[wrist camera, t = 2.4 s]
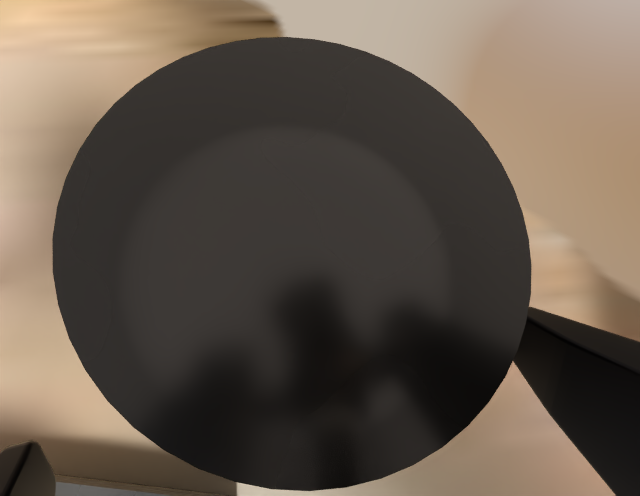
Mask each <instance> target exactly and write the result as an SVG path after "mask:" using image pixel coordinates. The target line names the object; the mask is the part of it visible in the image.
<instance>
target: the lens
mask: <svg viewBox="0 0 640 496" xmlns="http://www.w3.org/2000/svg"><path fill="white" fill-rule="evenodd" d="M53 275H54V281H55V287H56V294H57V300H58V305H59V308H60V312H61V315H62V318H63V321H64V324H65V327H66V330H67V333H68V336H69V339H70V341H71V343H72V345H73V347H74V349H75V351H76V353H77V354H78V356H79V358H80V360H81V362H82V364H83V366H84V368H85V370H86V372H87V373H88V374H89V376H90V377H91V379H92V380H93V381H94V383H95V384H96V386H97V387H98V388H99V390H100V391H101V393H102V394H103V395H104V397H105V398H106V399H107V401H108V402H109V403H110V404H111V405H112V406H113V407H114V408H115V409H116V410H117V411H118V412H119V413H120V414H121V415H122V416H123V417H124V418H125V419H126V420H127V421H128V422H129V423H130V424H131V425H132V426H133V427H134V428H135V429H137V430H138V431H139V432H141V433H142V434H143V435H145V436H146V437H147V438H149V439H150V440H151V441H153V442H154V443H155V444H156V445H158V446H159V447H160V448H162V449H163V450H165V451H166V452H168V453H170V454H172V455H174V456H176V457H178V458H179V459H181V460H183V461H185V462H187V463H189V464H191V465H192V466H194V467H196V468H198V469H201V470H204V471H206V472H209V473H212V474H215V475H217V476H220V477H223V478H226V479H229V480H231V481H234V482H239V483H244V484H249V485H254V486H259V487H264V488H269V489H280V490H301V491H314V490H324V489H334V488H344V487H349V486H353V485H357V484H361V483H365V482H369V481H373V480H377V479H381V478H383V477H386V476H388V475H390V474H393V473H395V472H398V471H400V470H402V469H405V468H407V467H410V466H412V465H414V464H416V463H417V462H419V461H421V460H422V459H424V458H425V457H427V456H429V455H430V454H432V453H434V452H435V451H437V450H439V449H440V448H442V447H443V446H444V445H446V444H447V443H448V442H449V441H450V440H452V439H453V438H454V437H455V436H456V435H458V434H459V433H460V432H461V431H462V430H463V429H465V428H466V427H467V426H468V425H469V424H470V423H471V422H472V420H473V419H474V418H475V417H476V416H477V415H478V414H479V413H480V411H481V410H482V409H483V408H484V407H485V406H486V405H487V404H488V402H489V401H490V399H491V398H492V396H493V395H494V393H495V392H496V390H497V389H498V387H499V386H500V384H501V383H502V381H503V379H504V378H505V376H506V374H507V372H508V370H509V368H510V365H511V363H512V361H513V359H514V357H515V355H516V353H517V350H518V347H519V344H520V341H521V337H522V334H523V331H524V328H525V324H526V320H527V314H528V307H529V301H530V295H531V258H530V248H529V239H528V235H527V230H526V226H525V222H524V217H523V213H522V210H521V207H520V204H519V202H518V199H517V196H516V193H515V191H514V188H513V186H512V184H511V182H510V180H509V178H508V176H507V174H506V172H505V170H504V168H503V166H502V164H501V162H500V161H499V159H498V157H497V156H496V154H495V153H494V151H493V150H492V148H491V147H490V145H489V143H488V142H487V141H486V140H485V138H484V137H483V136H482V135H481V133H480V132H479V131H478V130H477V128H476V127H475V126H474V125H473V123H472V122H471V121H470V120H469V119H468V118H467V117H466V116H465V115H464V114H463V113H462V112H461V111H460V110H459V109H458V108H457V107H456V106H455V105H454V104H453V103H452V102H451V101H449V100H448V99H447V98H446V97H444V96H443V95H442V94H441V93H440V92H438V91H437V90H436V89H434V88H433V87H432V86H430V85H429V84H427V83H426V82H424V81H423V80H421V79H420V78H418V77H417V76H415V75H414V74H412V73H411V72H409V71H406V70H405V69H403V68H401V67H399V66H397V65H395V64H393V63H391V62H390V61H387V60H385V59H382V58H380V57H377V56H375V55H372V54H370V53H367V52H365V51H361V50H358V49H355V48H351V47H348V46H344V45H341V44H336V43H331V42H326V41H320V40H315V39H303V38H291V37H277V38H257V39H249V40H241V41H234V42H230V43H226V44H222V45H218V46H214V47H210V48H207V49H204V50H201V51H199V52H196V53H193V54H190V55H188V56H185V57H183V58H181V59H179V60H177V61H175V62H173V63H171V64H169V65H167V66H165V67H163V68H161V69H159V70H157V71H156V72H154V73H153V74H151V75H150V76H149V77H147V78H146V79H144V80H143V81H141V82H140V83H138V84H137V85H135V86H134V87H133V88H132V89H131V90H130V91H128V92H127V93H126V94H125V95H124V96H123V97H122V98H120V99H119V100H118V101H117V102H116V103H115V104H114V105H113V106H112V107H111V108H110V109H109V110H108V112H107V113H106V114H105V115H104V116H103V117H102V118H101V120H100V121H99V122H98V123H97V124H96V125H95V127H94V128H93V130H92V131H91V133H90V134H89V136H88V137H87V139H86V140H85V142H84V143H83V145H82V146H81V148H80V150H79V151H78V154H77V156H76V158H75V160H74V162H73V164H72V166H71V168H70V171H69V173H68V175H67V177H66V180H65V183H64V186H63V190H62V193H61V196H60V200H59V203H58V206H57V212H56V219H55V226H54V233H53Z"/></svg>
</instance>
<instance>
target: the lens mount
mask: <svg viewBox="0 0 640 496" xmlns="http://www.w3.org/2000/svg"><path fill="white" fill-rule="evenodd" d="M55 479H56V492H55V496H229V495H221V494H213V493H205V492H196V491H188V490H180V489H171V488H163V487H155V486H147V485H138V484H130V483H122V482H113V481H105V480H97V479H89V478H80V477H72V476H64V475H55Z"/></svg>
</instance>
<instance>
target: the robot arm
mask: <svg viewBox="0 0 640 496" xmlns="http://www.w3.org/2000/svg"><path fill="white" fill-rule="evenodd" d="M513 361H514V363H515V364H516V366H517V367H518V369H519V370H520V372H521V373H522V375H523V376H524V378H525V379H526V381H527V382H528V384H529V385H530V387H531V388H532V389H533V391H534V392H535V394H536V395H537V397H538V398H539V400H540V401H541V403H542V404H543V406H544V407H545V408H546V410H547V411H548V413H549V414H550V415H551V417H552V418H553V419H554V420H555V422H556V423H557V424H558V425H559V427H560V428H561V429H562V430H563V432H564V433H565V434H566V435H567V436H568V438H569V439H570V440H571V441H572V443H573V444H574V445H575V446H576V447H577V449H578V450H579V451H580V452H581V453H582V455H583V456H584V457H585V458H586V460H587V461H588V462H589V463H590V464H591V466H592V467H593V468H594V469H595V470H596V472H597V473H598V474H599V475H600V477H601V478H602V479H603V480H604V481H605V483H606V484H607V485H608V486H609V488H610V489H611V490H612V491H613V492H614V494H615V495H616V496H640V342H638V341H635V340H632V339H629V338H626V337H623V336H619V335H616V334H613V333H610V332H607V331H604V330H601V329H598V328H595V327H592V326H588V325H585V324H582V323H579V322H576V321H573V320H570V319H567V318H564V317H561V316H558V315H554V314H551V313H548V312H545V311H542V310H539V309H536V308H533V307H528V314H527V320H526V324H525V328H524V331H523V334H522V337H521V341H520V344H519V347H518V350H517V353H516V355H515V357H514V359H513ZM55 492H56V479H55V474H54V471H53V469H52V467H51V465H50V463H49V462H48V460H47V458H46V456H45V454H44V452H43V450H42V448H41V446H40V445H39V443H38V442H36V441H34V440H29V441H26V442H22V443H18V444H15V445H11V446H8V447H6V448H5V449H4V450H2V451H1V452H0V496H55Z"/></svg>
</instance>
